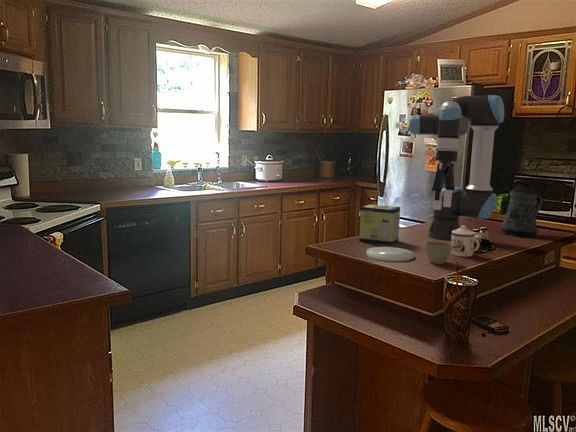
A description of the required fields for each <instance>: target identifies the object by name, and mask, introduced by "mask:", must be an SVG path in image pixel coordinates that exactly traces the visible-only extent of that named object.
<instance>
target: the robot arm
mask: <svg viewBox="0 0 576 432" xmlns="http://www.w3.org/2000/svg"><path fill="white" fill-rule="evenodd" d="M504 119H505V106H504V101H503V97H501V96H500V95H495V94H494V95H493V94H492V95H491V94H488V95H486V94H485V95H482V94H481V95H464V96H462V95H461V96H458V97H455V98H452V99H450V100H447V101H445V102H444V103H443V104H441V106H440V107H438V108H436V109H434V110H432V111H430V112H428V113H425V114H423V115H422V114H418V115H416V114H414V115H412V116H410V118H409V121H408V129H409V132H410V134H411V135H418V136H421V135H422V136H423V135H425V136H426V135H428V136H431V135H432V136H437V140H435V143H436V149H437V150H436V152H435V161H436V162H440V163H437V164H436V172H435V176H434V181H433V185H432V188H431V192H433V202H432V209H433V214H432V215H433V216H432V221H431V223H430V226H429V227H428V228H429V229H428V232H427V236H428V237H431V238H433V239H439V240H449V241H451V237H452V234H451V232H452V231H453V230H457V229H459V228H461V225H460V217H462V218H464V217H465V218H472V219H473V218H475V219H478V220H479V219H482V220H483V219H485V220H486V219H490V218H491V217H492V215H493V213H494V210H495V208H496V204H497V194H496V193H494V189H493V188H492V187H491V174H492V163H493V151H494V142H495V139H494V138H495V131H496V130H497V129H499V127H500V124H501V123H504ZM470 129H472V130H473V134H472V135H473V137H472V148H471V149H472V150H471V157H470V158H471V161H470V171H469V182H468V183H469V184H468V185H467V186H465V188H464V190H462V187H458V186H457V187H455V175H454V167H455V165H454V163H452V162H457V161H458V156H459V155H458V150H459V144H460V142H459V141H460V137H462V136H465V135H466V134H468V133H469V131H470ZM444 186H445V187H444Z"/></svg>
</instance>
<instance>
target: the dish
mask: <svg viewBox="0 0 576 432" xmlns="http://www.w3.org/2000/svg"><path fill="white" fill-rule="evenodd" d="M366 256H367V257H369V258H370V259H373V260H376V261H383V262H397V263H398V262H400V263H401V262H409V261H411V260H413V259H414V256H415V255H414V252H412V251H411V250H408V249H405V248H400V247H392V246H375V247H370V248H367V249H366Z"/></svg>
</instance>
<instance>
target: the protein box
mask: <svg viewBox="0 0 576 432" xmlns="http://www.w3.org/2000/svg"><path fill="white" fill-rule="evenodd" d="M359 215H360V216H359V217H360V218H359V236H358V241H359V242H363V243H371V244H380V245H381V244H382V245H388V246H393V245H395V244H396V243H397V242H399V236H400V218H401V207H400V206H394V205H393V206H391V205H380V204H364V205H363V206H362V205H361V206H360V214H359Z"/></svg>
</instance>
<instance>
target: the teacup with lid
mask: <svg viewBox="0 0 576 432" xmlns="http://www.w3.org/2000/svg"><path fill="white" fill-rule="evenodd" d="M451 234H452V237H451V240H450V244H452V245H453V248H452V251H451V254H450V255H453V256H456V257H460V258H461V257H462V258H463V257H464V258H465V257H467V258H468V257H472V256H474V252H476V251H478V250H479V248H480V241H479V239H476V238H475V236H476V234H475V232H474V231H473V230H470V229H468V228H467V226H466V225H460V228H459V229H457V230H453V231H452V232H451ZM475 244H476V246H475V248H474V245H475Z"/></svg>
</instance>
